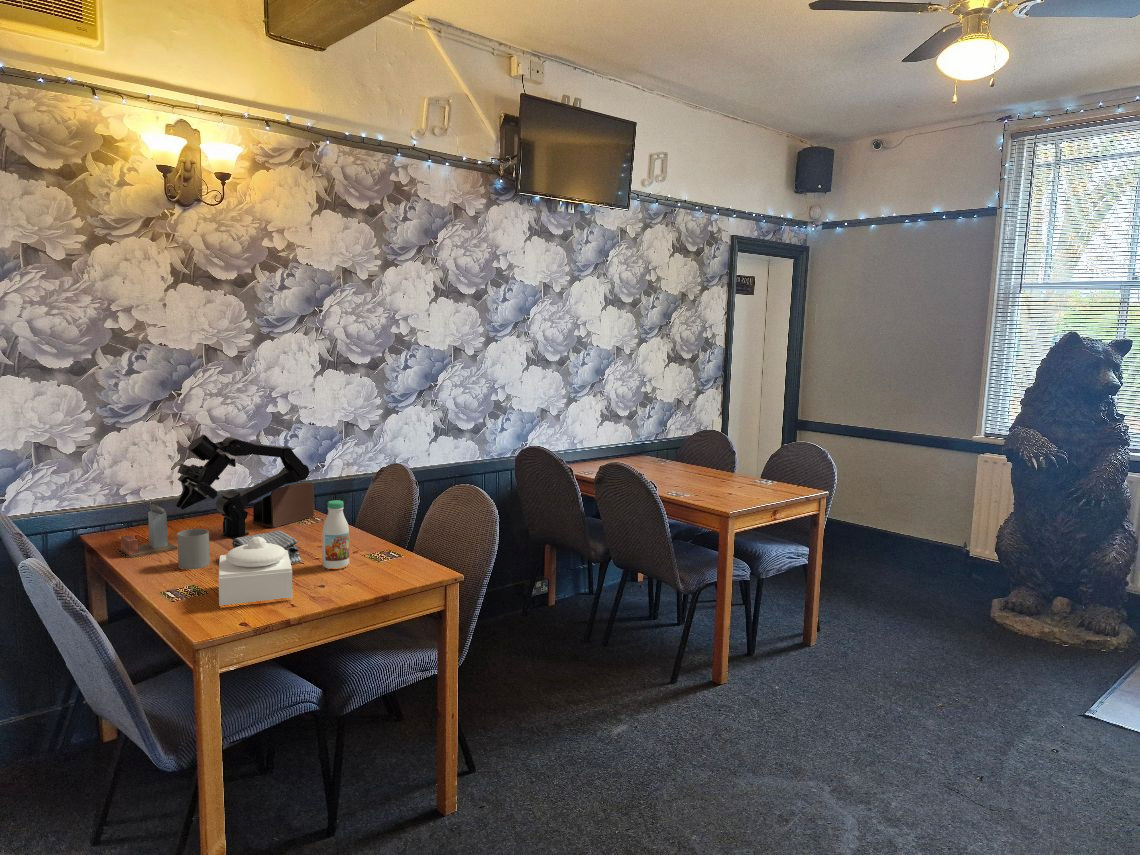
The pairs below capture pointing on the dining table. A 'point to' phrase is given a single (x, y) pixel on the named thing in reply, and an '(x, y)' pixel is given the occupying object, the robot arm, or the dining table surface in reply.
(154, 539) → the grey t-shaped piece
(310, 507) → the letter holder
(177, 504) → the robot arm
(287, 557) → the white block with dome
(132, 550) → the tan base plate
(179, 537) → the cup
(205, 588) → the dining table surface
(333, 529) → the milk bottle
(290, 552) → the towel
